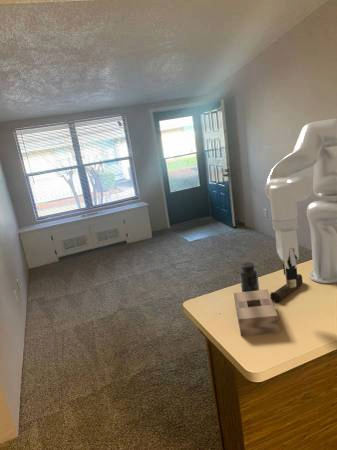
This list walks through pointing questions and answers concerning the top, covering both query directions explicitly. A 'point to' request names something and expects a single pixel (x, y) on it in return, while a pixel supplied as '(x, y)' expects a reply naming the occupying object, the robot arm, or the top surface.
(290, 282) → the peg
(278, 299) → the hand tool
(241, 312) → the hole block
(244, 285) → the supplement bottle
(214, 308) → the top surface
